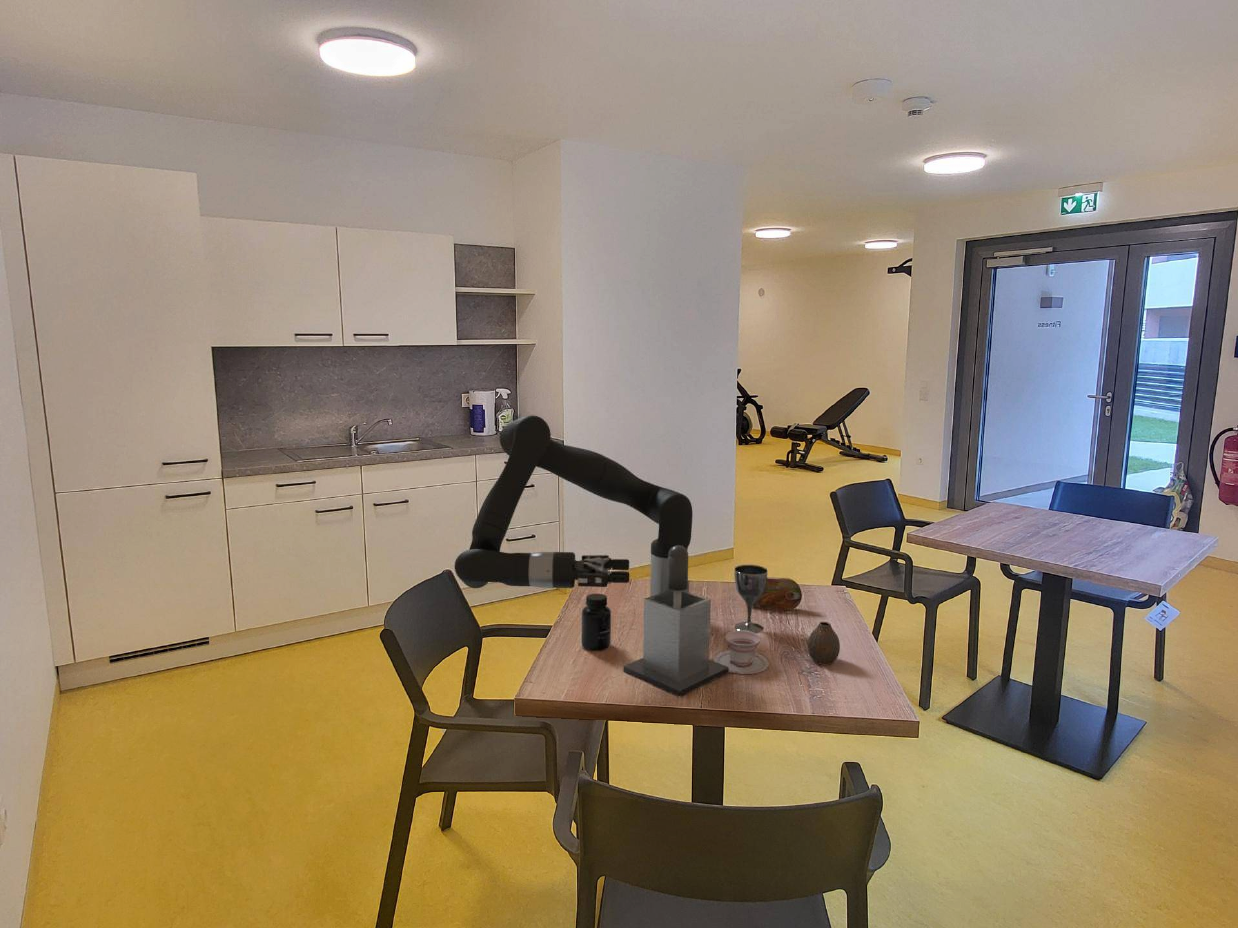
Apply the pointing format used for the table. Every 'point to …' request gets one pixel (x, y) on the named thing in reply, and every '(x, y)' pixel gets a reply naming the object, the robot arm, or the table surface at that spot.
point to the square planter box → (676, 644)
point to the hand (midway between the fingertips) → (629, 570)
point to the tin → (779, 595)
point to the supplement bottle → (596, 623)
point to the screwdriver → (678, 572)
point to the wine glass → (750, 591)
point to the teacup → (742, 653)
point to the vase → (823, 644)
